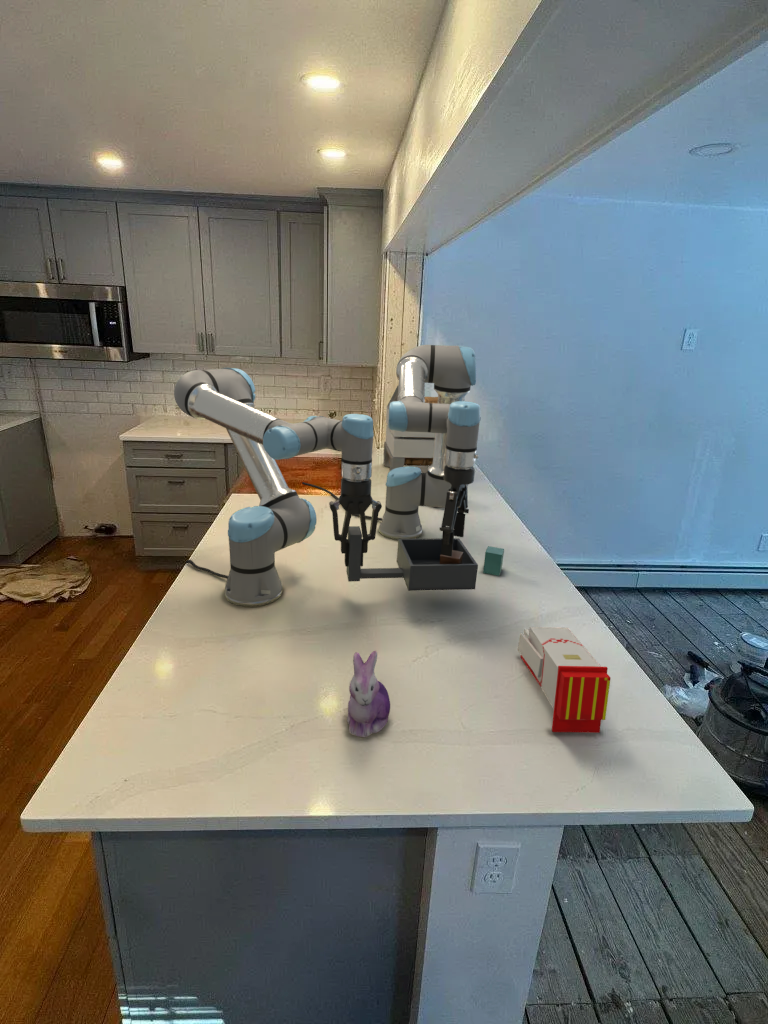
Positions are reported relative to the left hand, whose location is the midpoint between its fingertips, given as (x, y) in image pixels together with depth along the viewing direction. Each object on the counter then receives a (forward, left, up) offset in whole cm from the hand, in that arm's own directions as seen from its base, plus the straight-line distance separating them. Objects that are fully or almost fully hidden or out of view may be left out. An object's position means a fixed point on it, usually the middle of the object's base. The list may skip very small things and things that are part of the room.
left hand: (353, 563), depth 148 cm
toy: (+51, -23, -11) cm, 57 cm away
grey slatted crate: (-5, +132, -11) cm, 133 cm away
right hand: (+25, +6, +6) cm, 26 cm away
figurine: (+16, -44, -11) cm, 48 cm away
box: (+14, +5, -4) cm, 15 cm away
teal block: (+35, +32, -11) cm, 49 cm away
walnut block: (+25, +6, -3) cm, 26 cm away
